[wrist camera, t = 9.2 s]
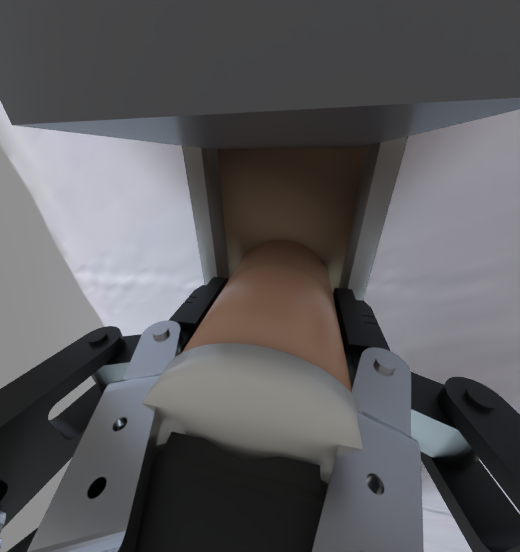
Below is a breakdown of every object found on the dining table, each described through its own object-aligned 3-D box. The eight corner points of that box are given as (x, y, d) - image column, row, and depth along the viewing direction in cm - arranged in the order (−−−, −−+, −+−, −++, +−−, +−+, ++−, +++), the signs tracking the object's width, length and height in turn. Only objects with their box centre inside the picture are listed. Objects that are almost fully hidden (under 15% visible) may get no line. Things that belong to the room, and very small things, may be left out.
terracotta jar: (341, 240, 10) (423, 423, 3) (325, 328, 13) (348, 531, 6) (230, 234, 11) (98, 365, 4) (237, 317, 13) (165, 481, 7)
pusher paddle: (360, 147, 9) (579, 95, 2) (222, 150, 10) (12, 124, 3) (367, 110, 8) (740, -189, 1) (219, 117, 9) (-57, -19, 2)
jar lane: (322, 419, 20) (328, 508, 15) (233, 402, 22) (211, 477, 17) (439, -53, 7) (886, -761, 2) (182, -10, 8) (-24, -295, 3)
